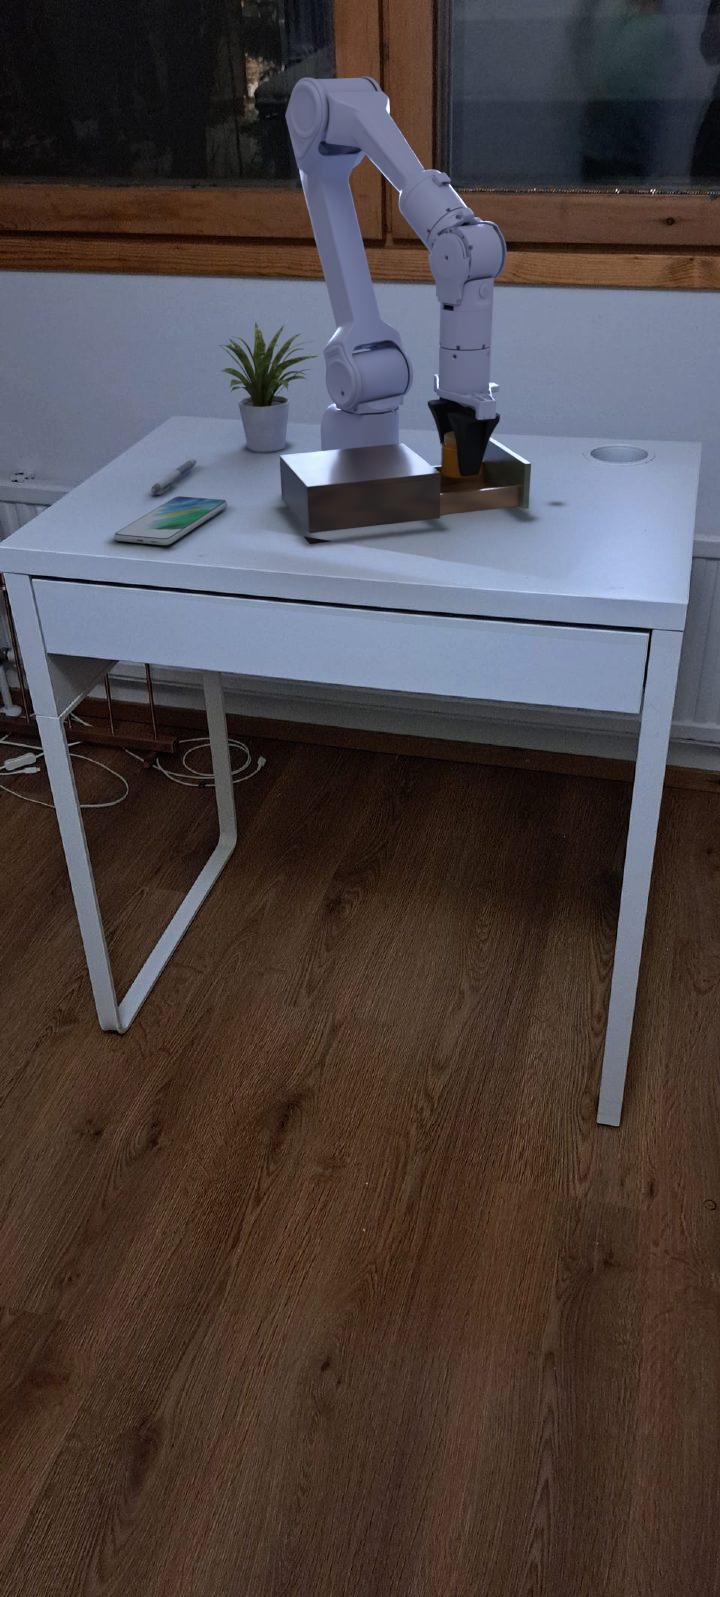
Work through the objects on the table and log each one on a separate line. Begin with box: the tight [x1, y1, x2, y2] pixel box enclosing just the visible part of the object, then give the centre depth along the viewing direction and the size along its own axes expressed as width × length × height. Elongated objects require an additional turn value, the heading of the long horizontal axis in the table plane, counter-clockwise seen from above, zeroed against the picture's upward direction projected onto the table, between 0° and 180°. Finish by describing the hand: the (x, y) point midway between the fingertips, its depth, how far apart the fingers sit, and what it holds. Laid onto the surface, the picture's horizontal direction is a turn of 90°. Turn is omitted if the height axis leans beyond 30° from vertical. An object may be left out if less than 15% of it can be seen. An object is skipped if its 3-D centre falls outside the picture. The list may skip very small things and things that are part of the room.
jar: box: [440, 431, 482, 478], centre depth 134 cm, size 5×5×4 cm
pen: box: [150, 458, 197, 495], centre depth 148 cm, size 1×14×1 cm, turn 164°
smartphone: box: [113, 496, 228, 546], centre depth 134 cm, size 7×1×15 cm
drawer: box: [431, 436, 532, 516], centre depth 135 cm, size 16×13×6 cm
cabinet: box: [279, 442, 441, 545], centre depth 133 cm, size 15×13×6 cm
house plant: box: [219, 322, 319, 453], centre depth 157 cm, size 14×14×16 cm
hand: (461, 468), depth 135 cm, fingers closed on jar, 5 cm apart
